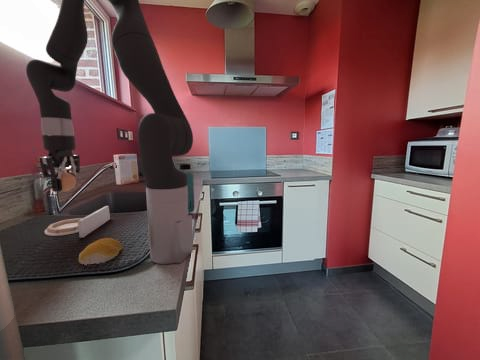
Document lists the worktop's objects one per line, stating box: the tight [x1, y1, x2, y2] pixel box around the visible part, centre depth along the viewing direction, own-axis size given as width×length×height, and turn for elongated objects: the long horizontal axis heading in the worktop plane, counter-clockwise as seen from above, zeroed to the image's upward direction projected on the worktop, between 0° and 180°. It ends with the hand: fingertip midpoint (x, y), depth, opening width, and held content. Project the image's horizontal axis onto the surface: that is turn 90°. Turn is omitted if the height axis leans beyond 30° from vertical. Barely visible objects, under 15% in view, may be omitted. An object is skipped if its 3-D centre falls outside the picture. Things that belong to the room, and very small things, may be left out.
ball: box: [60, 171, 77, 192], centre depth 67 cm, size 6×6×6 cm
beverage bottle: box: [179, 163, 195, 214], centre depth 82 cm, size 6×7×20 cm
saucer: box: [44, 217, 84, 237], centre depth 69 cm, size 12×12×2 cm
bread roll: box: [78, 237, 123, 266], centre depth 52 cm, size 8×9×4 cm
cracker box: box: [113, 153, 140, 186], centre depth 151 cm, size 14×6×21 cm, turn 152°
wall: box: [78, 205, 111, 238], centre depth 70 cm, size 16×1×5 cm, turn 7°
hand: (65, 188), depth 67 cm, fingers closed on ball, 6 cm apart
